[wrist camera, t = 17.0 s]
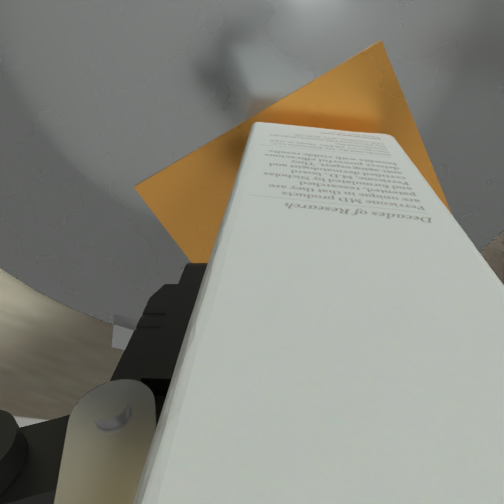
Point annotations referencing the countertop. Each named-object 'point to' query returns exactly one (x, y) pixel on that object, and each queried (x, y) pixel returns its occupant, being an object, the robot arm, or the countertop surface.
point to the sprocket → (220, 123)
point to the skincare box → (335, 340)
